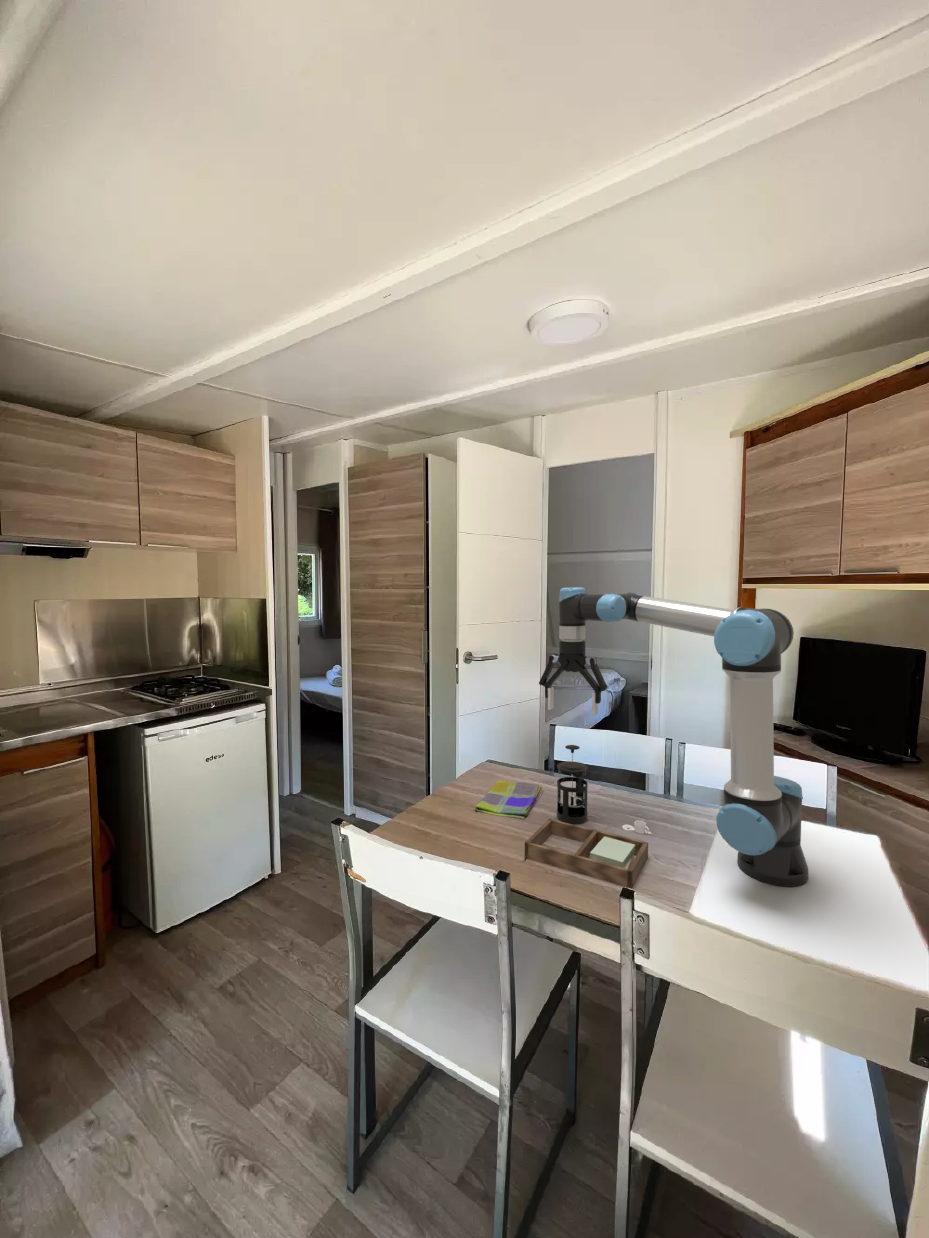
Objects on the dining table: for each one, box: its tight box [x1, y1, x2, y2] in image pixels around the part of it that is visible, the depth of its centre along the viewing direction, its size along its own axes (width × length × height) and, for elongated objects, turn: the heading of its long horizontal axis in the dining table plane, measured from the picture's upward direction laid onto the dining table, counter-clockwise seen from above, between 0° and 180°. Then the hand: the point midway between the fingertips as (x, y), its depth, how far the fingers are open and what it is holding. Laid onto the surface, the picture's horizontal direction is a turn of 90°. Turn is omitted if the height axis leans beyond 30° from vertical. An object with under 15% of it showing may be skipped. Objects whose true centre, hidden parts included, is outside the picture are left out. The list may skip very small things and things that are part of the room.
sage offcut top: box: [589, 836, 635, 868], centre depth 131 cm, size 8×10×2 cm
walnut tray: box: [524, 818, 649, 889], centre depth 135 cm, size 27×16×5 cm, turn 58°
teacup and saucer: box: [621, 820, 653, 835], centre depth 149 cm, size 9×8×4 cm
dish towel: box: [474, 780, 544, 820], centre depth 174 cm, size 18×24×3 cm
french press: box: [556, 744, 589, 826], centre depth 158 cm, size 12×9×23 cm
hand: (572, 711), depth 156 cm, fingers open, 13 cm apart
